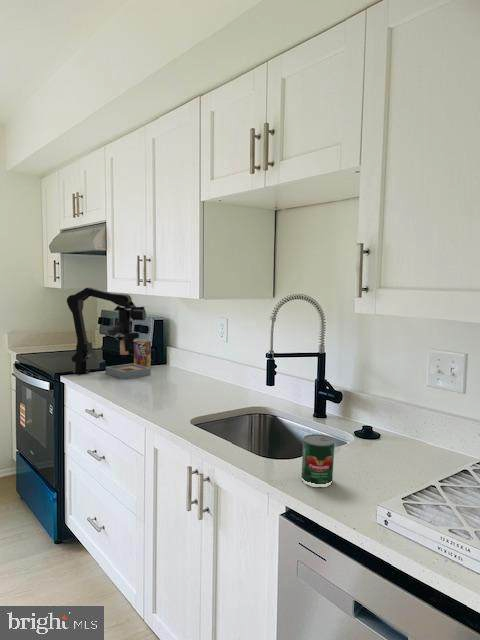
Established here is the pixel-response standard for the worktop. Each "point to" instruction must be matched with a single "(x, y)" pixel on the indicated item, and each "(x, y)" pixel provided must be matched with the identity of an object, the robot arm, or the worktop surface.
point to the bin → (128, 371)
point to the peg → (122, 348)
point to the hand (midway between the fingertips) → (124, 351)
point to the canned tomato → (318, 458)
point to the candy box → (142, 353)
